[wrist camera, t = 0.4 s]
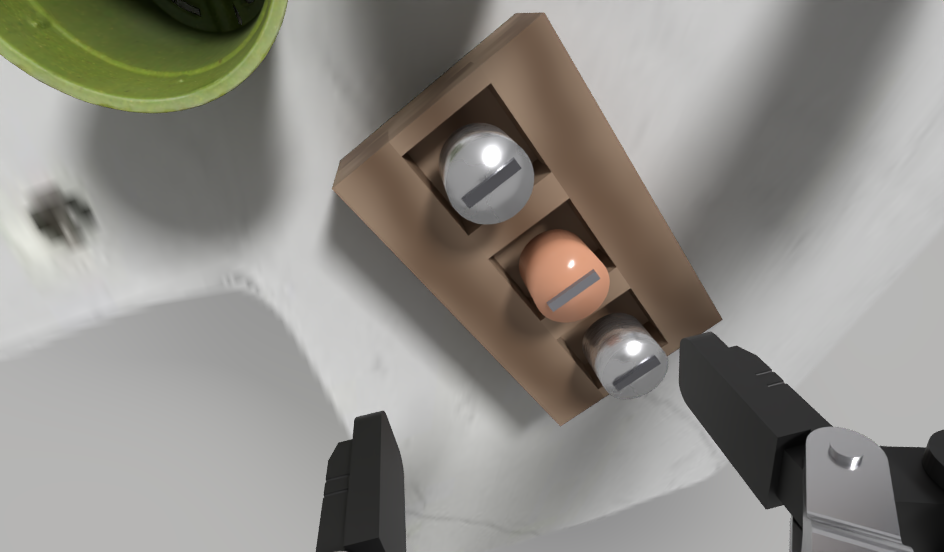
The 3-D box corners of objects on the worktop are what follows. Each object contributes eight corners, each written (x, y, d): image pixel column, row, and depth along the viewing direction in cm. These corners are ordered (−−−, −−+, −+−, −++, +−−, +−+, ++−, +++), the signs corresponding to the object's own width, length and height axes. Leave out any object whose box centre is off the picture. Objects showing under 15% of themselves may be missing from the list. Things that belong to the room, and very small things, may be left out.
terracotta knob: (564, 215, 30) (587, 240, 26) (599, 264, 32) (625, 294, 28) (505, 258, 31) (520, 289, 27) (543, 304, 33) (561, 338, 29)
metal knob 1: (487, 105, 26) (502, 118, 23) (531, 169, 28) (552, 190, 25) (422, 157, 27) (427, 178, 24) (470, 216, 29) (482, 243, 26)
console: (515, 13, 30) (544, 12, 24) (678, 280, 41) (722, 319, 35) (340, 160, 32) (331, 188, 27) (538, 376, 43) (560, 426, 38)
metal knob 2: (624, 301, 34) (652, 333, 30) (652, 341, 36) (681, 375, 32) (570, 338, 34) (591, 374, 31) (601, 375, 36) (623, 412, 33)
